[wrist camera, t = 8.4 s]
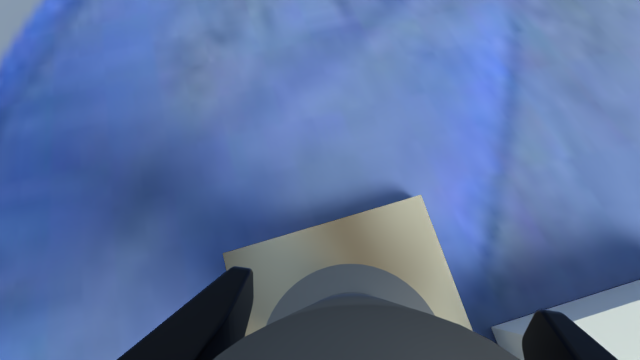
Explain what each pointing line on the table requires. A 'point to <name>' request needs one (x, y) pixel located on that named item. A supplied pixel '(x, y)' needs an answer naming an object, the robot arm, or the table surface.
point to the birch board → (355, 257)
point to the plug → (359, 323)
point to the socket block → (591, 322)
